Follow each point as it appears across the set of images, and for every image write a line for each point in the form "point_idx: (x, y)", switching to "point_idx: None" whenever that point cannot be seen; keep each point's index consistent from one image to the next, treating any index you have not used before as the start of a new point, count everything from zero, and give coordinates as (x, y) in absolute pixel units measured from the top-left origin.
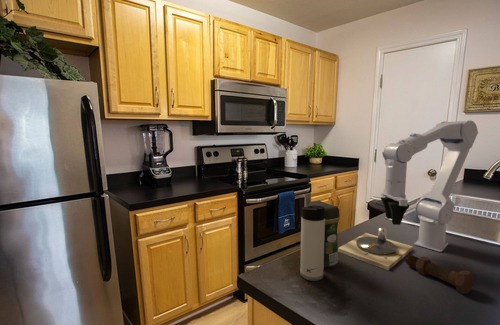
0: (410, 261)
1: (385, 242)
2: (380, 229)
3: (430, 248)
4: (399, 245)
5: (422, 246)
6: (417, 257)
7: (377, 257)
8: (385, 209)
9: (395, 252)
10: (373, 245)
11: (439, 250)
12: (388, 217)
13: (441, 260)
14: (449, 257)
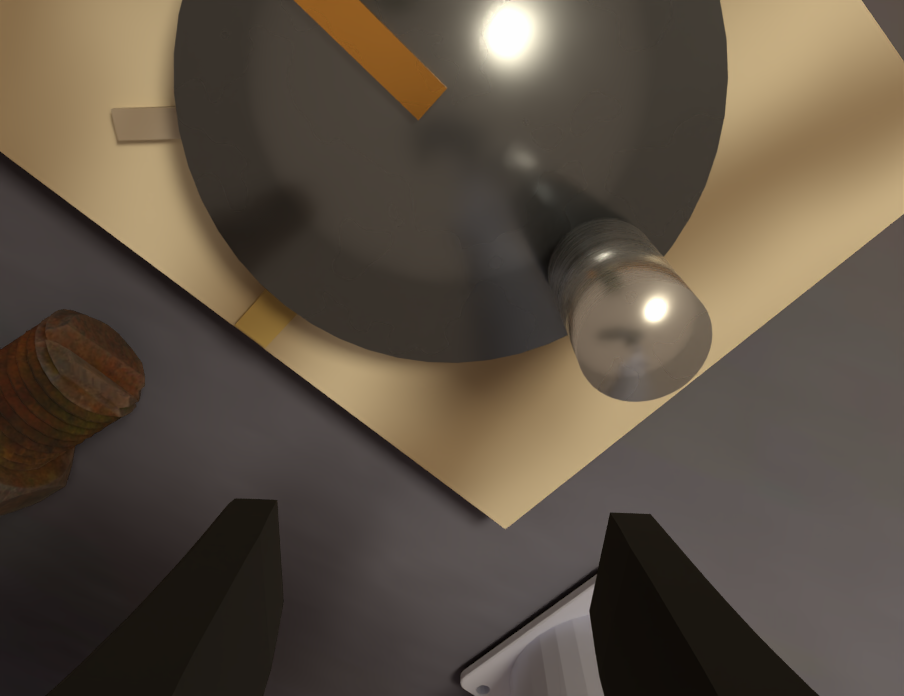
0: (9, 348)
1: (509, 280)
2: (609, 296)
3: (511, 640)
4: (524, 421)
5: (558, 605)
6: (37, 441)
7: (113, 13)
8: (716, 675)
9: None
10: (365, 56)
11: (466, 679)
12: (616, 558)
13: (310, 615)
14: (377, 683)
